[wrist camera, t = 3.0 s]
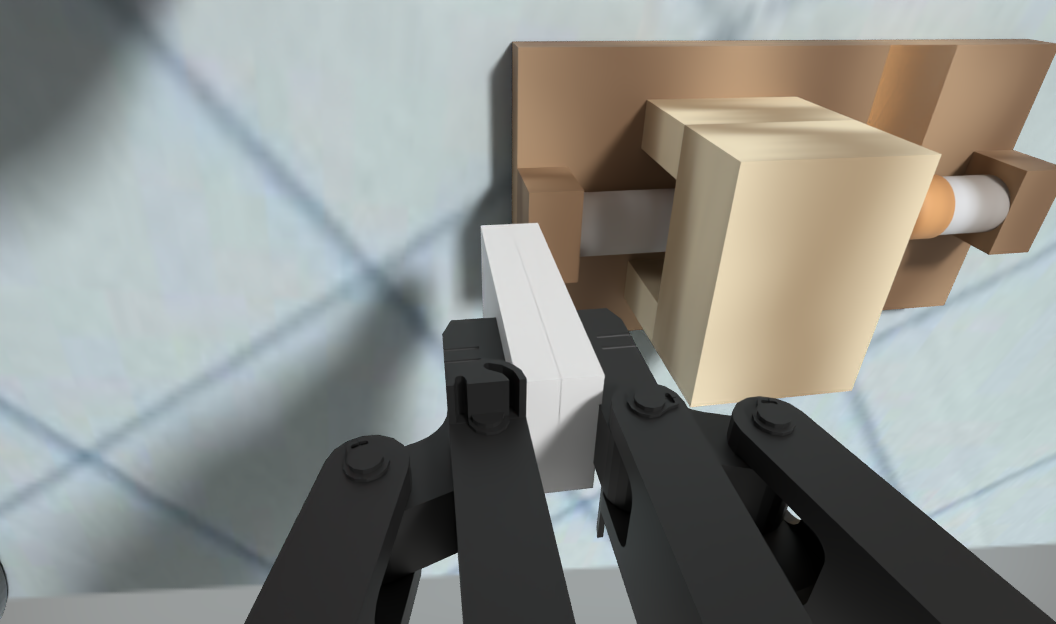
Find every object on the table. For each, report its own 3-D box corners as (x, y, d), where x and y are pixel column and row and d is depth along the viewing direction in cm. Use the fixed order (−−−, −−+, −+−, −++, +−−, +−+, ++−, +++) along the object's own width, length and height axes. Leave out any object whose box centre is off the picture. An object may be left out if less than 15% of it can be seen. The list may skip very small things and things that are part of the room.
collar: (624, 297, 22) (690, 407, 17) (646, 99, 18) (740, 162, 13) (750, 288, 23) (851, 390, 18) (796, 96, 19) (941, 154, 14)
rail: (511, 322, 23) (526, 377, 20) (512, 41, 18) (532, 61, 15) (923, 291, 26) (989, 335, 23) (1027, 39, 21) (1130, 54, 18)
